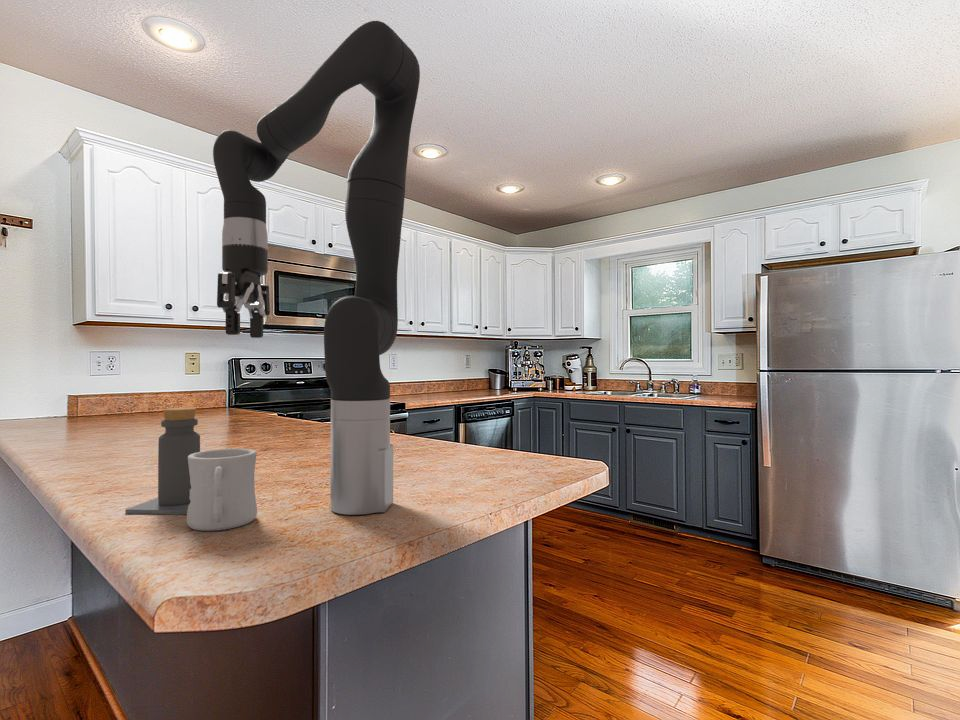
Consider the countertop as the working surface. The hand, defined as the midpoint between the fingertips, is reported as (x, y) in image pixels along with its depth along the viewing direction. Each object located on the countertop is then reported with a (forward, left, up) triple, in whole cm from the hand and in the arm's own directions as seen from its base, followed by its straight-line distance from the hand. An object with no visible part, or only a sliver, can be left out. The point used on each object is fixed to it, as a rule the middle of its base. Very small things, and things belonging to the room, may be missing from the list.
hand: (245, 336), depth 92 cm
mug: (-7, +20, -28) cm, 35 cm away
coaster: (+6, +10, -28) cm, 30 cm away
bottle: (+6, +10, -28) cm, 30 cm away
